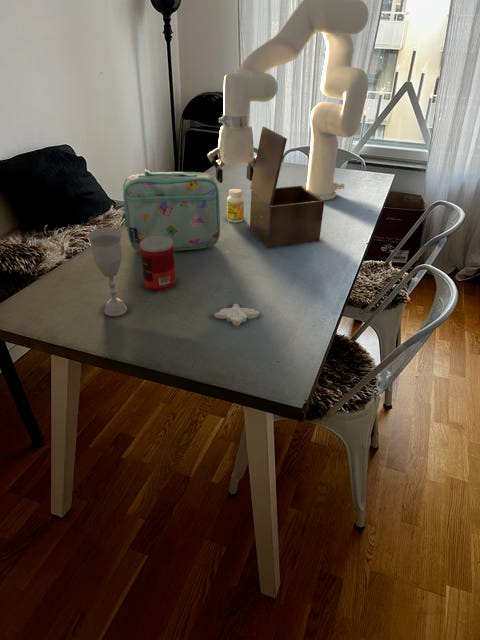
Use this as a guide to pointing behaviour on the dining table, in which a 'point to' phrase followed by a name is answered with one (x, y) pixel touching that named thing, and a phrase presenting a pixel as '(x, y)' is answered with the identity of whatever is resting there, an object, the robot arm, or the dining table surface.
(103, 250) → the chalice
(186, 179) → the lunch box
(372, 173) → the dining table surface
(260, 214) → the chest
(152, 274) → the canned food
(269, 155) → the lid
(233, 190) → the supplement bottle
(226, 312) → the acanthus leaf ornament
